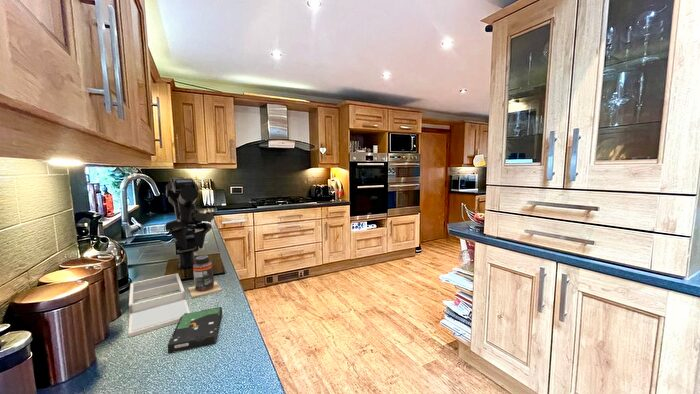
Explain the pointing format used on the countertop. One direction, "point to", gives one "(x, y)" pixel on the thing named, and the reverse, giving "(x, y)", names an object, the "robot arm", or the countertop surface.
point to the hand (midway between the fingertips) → (193, 248)
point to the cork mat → (196, 293)
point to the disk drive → (196, 330)
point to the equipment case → (156, 304)
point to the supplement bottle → (203, 273)
